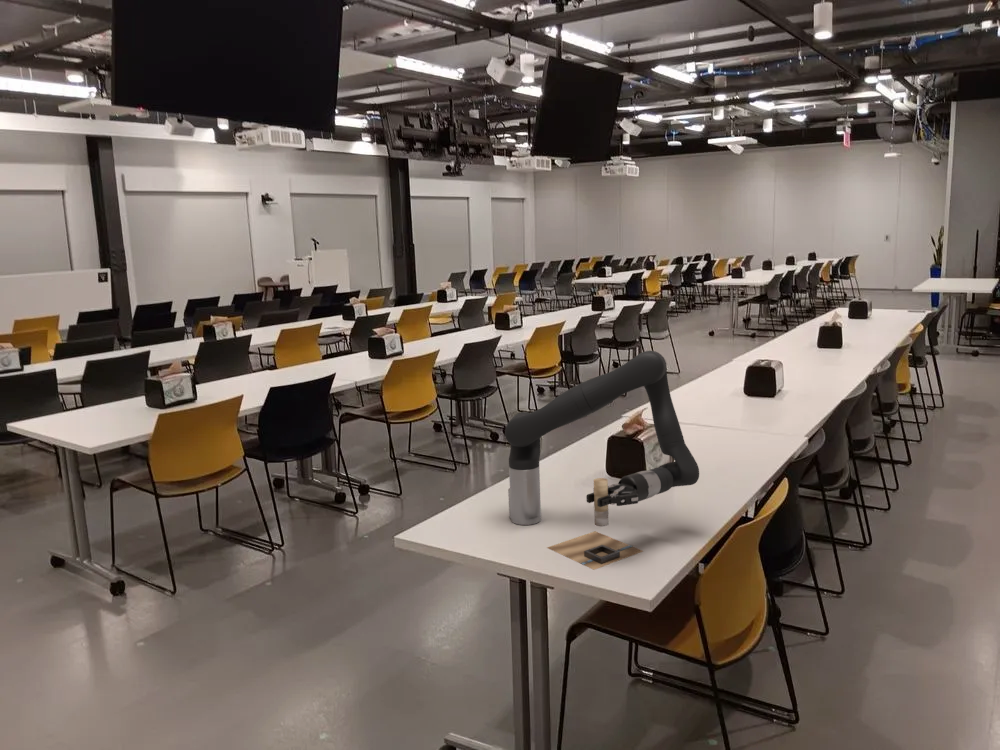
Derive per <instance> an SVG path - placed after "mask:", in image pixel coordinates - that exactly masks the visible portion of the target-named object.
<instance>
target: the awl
mask: <svg viewBox="0 0 1000 750" xmlns="http://www.w3.org/2000/svg"><path fill="white" fill-rule="evenodd" d="M608 481H609V480H608V479H607V478H605V477H597V478H594V479H593V488H594V489H593V493H594V502H593V504H594V505H593V508H594V509H593V510H594V511H593V512H594V525H595V526H597V527H600V528H601V527H607V526H609V524H610V523H609V505H606V506H602V507H599V506H598V505H597V500H598V498H601V497H604V496H607V495H608V486H609V485H608V484H609V483H608Z"/></svg>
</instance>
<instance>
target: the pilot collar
mask: <svg viewBox="0 0 1000 750" xmlns="http://www.w3.org/2000/svg"><path fill="white" fill-rule="evenodd" d="M600 552H604V553H607V554H608V555H606V556H603V557H600V556H598V555H596V554H597V553H600ZM584 557H587V558H589V559H591V560H593V561H595V562H598V563H600V564H603V563H606V562H609V561H611V560H614V559H617V558H619V557H620V552H618V551H616V550H614V549H611V548H609V547H607V546H604V545H600V546H597V547H594V548H591V549H589V550H586V551H584Z"/></svg>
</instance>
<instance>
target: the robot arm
mask: <svg viewBox="0 0 1000 750" xmlns="http://www.w3.org/2000/svg"><path fill="white" fill-rule="evenodd" d="M667 372H668V371H667V361H666V359H665V357H664V356H663V355H662V354H661V353H659V352H657V351H655V350H646V351H643V352H640V353H638V354H637V355H635V356H634V357H633V358H631V359H630V360H628V361H627V362H625V363H624V364H622V365H621V366H619V367H617V368H615V369H613V370H612V371H609V372H607V373H604V374H601V375H598V376H595V377H592V378H589V379H587V380H585V381H583V382H581V383H578V384H576V385H574V386H573V387H570V388H569V389H567V390H565V391H564V392H562V393H561V394H559V395H558V396H556V397H555V398H554V399H552V400H551V401H549V402H548V403H547V404H546V405H544V406H542V407H541V408H539V409H536V410H534V411H532V412H528V411H522V412H521V411H520V412H517V414H515V415H514V416H513V417H512V418H511V419H510V420H509V421H508V422H507V424H506V427H505V429H504V437H505V439H506V441H507V442H508V443H509V444H510V451H509V457H508V473H509V474H508V476H509V479H508V480H509V488H508V489H507V490H508V492H507V493H508V515H509V516H508V518H509V519H510V522H512V523H513V524H516V525H520V526H521V525H522V526H528V525H529V526H531V525H534V524H537V523H540V522H541V520H542V509H541V506H542V505H541V479H540V477H541V474H540V458H541V438H542V437H543V436H545V435H547V434H549V433H550V432H552V431H554V430H556V429H558V428H561V427H563V426H567V425H569V424H571V423H574V422H576V421H578V420H581V419H582V418H585V417H587V416H589V415H591V414H594V413H595V412H597V411H599V410H601V409H603V408H605V407H606V406H608V405H609V404H611V403H612V402H614V401H615V400H617V399H619V397H621V396H623V395H625V394H627V393H629V392H631V391H635V390H636V389H639V388H644V389H645V392H646V394H647V397H648V400H649V404H650V408H651V415H652V421H653V422H652V423H653V426H654V431H655V435H656V438H657V441H658V445H659V448H660V451H661V453H662V454H663V455H666V456H668V457H672V459H673V460H674V461H671V462H667V463H664V464H662V465H660V466H658V467H654V468H652V469H648V470H641V471H637V472H635V473H631V474H628V475H624V476H622V477H621V478H620V479H619V481H618V483H613V484H611V485H608V495H607V496H604V497H601V498H598V500H597V505H598V506H599V507H602V506H606V505H608V506H609V505H612V506H613V505H616V506H617V507H621V506H628V505H636V504H638V503H639V502H641V501H644V500H648V499H650V498H653V497H655V496H657V495H660V494H662V493H665V492H666V493H667V492H668V491H670V489H672V488H677V487H685V486H687V487H688V486H692V485H695V484H696V483H698V481H699V478H700V467H699V465H698V463H697V460H695V457H694V456H693V454H692V452H691V451H690V449H689V447H688V446H687V445H686V442H685V437H684V436H683V432H682V428H681V425H680V422H679V419H678V416H677V412H676V410H675V406H674V404H673V399H672V395H671V392H670V386H669V381H668V373H667ZM593 490H594V487H593ZM585 497H586V503H588V504H591V503H594V492H591V493H588V494H587V495H586V496H585Z"/></svg>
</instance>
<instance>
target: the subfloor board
mask: <svg viewBox="0 0 1000 750" xmlns="http://www.w3.org/2000/svg"><path fill="white" fill-rule="evenodd" d="M600 545H604V546H607V547H609V548H611V549H614V550H616V551H618V552H620V557H619V558H617V559H614V560H611V561H609V562H606V563H603V564H600V563H598V562H595V561H593V560H591V559H589V558H587V557H584V551H586V550H589V549H591V548H594V547H597V546H600ZM546 549H549V550H551V551H553V552H555V553H557V554H559V555H561V556H563V557H566V558H567V559H570V560H572V561H574V562H576V563H579V564H581V565H583V566H585V567H588V568H589V569H591V570H594V571H595V570H597V569H601V568H603V567H605V566H606V567H607V566H608V565H611V564H613V563H616V562H618V561H621V560H625V559H626V558H629V557H632V556H635V555H637V554H640V553H642V552H644V550H642V549H640V548H637V547H635V546H633V545H631V544H627V543H625V542H623V541H620V540H618V539H615V538H613V537H610V536H608V535H606V534H603V533H600V532H598V531H596V530H595V531H592V532H589V533H586V534H583V535H580V536H579V535H578V536H577V537H574V538H570V539H568V540H565V541H563V542H560V543H556V544H554V545H551V546H547V547H546ZM596 555H598V556H600V557H603V556H606V555H608V554H607V553H604V552H600V553H597V554H596Z"/></svg>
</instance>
